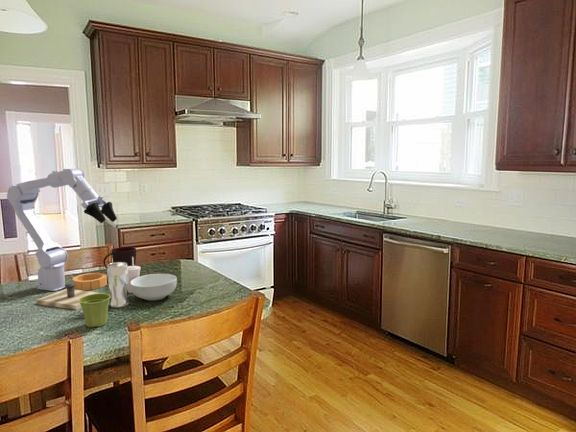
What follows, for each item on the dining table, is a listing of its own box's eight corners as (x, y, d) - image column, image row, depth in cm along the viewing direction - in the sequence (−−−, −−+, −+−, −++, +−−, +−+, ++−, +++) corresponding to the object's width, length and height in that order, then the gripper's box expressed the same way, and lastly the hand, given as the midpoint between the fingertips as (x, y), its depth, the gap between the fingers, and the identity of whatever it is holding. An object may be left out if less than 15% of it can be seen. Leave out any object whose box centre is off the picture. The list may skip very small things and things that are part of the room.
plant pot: (73, 326, 135) (71, 300, 134) (97, 316, 144) (95, 291, 142) (95, 331, 131) (93, 304, 130) (118, 321, 140) (117, 295, 139)
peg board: (36, 303, 155) (35, 287, 154) (67, 292, 169) (66, 276, 168) (76, 309, 150) (74, 292, 149) (104, 297, 163) (103, 281, 162)
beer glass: (117, 309, 150) (115, 267, 148) (105, 305, 154) (102, 265, 152) (134, 303, 156) (131, 263, 154) (121, 300, 160) (119, 260, 157)
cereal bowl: (153, 287, 174) (153, 271, 173) (186, 293, 167) (185, 276, 166) (121, 300, 159) (120, 282, 158) (155, 307, 152) (154, 288, 151)
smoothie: (136, 294, 166) (134, 259, 164) (121, 293, 167) (119, 258, 165) (144, 289, 172) (143, 255, 170) (130, 288, 173) (128, 254, 171)
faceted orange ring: (66, 288, 173) (65, 279, 173) (89, 279, 185) (88, 271, 185) (91, 291, 170) (90, 282, 169) (113, 282, 181) (112, 274, 181)
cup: (140, 275, 191) (139, 249, 189) (108, 281, 182) (106, 254, 181) (132, 271, 199) (130, 245, 197) (101, 276, 190) (99, 250, 188)
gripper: (82, 186, 156) (105, 214, 155) (105, 187, 170) (126, 213, 169) (69, 199, 157) (92, 227, 156) (93, 199, 171) (114, 224, 170)
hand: (109, 220), depth 163 cm, fingers open, 7 cm apart
